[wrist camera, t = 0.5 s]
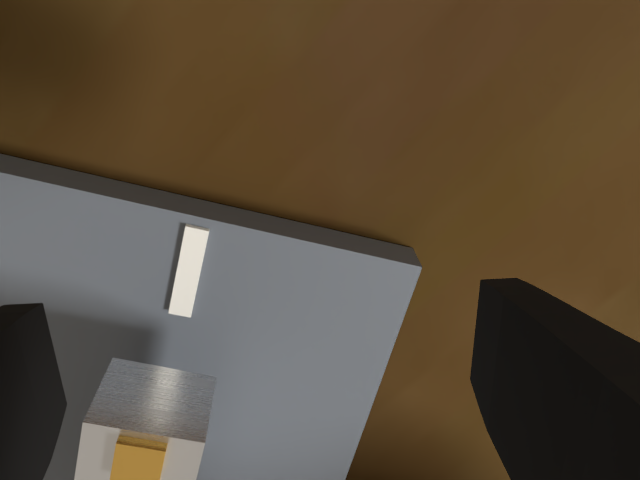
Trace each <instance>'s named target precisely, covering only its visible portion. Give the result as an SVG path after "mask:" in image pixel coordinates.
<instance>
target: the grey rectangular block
mask: <svg viewBox="0 0 640 480" xmlns="http://www.w3.org/2000/svg"><path fill="white" fill-rule="evenodd" d="M216 378H217V377H215V376H210V375H204V374H199V373H194V372H188V371H183V370H177V369H172V368H167V367H161V366H156V365H151V364H145V363H140V362H134V361H129V360H124V359H118V358H112V360H111V362H110V364H109V367H108V369H107V371H106V373H105V375H104V377H103V379H102V382H101V384H100V386H99V388H98V390H97V392H96V395H95V397H94V399H93V401H92V403H91V405H90V408H89V410H88V412H87V414H86V416H85V418H84V421H83V423H82V430H81V437H80V444H79V450H78V457H77V464H76V471H75V477H74V480H196V479H197V475H198V470H199V466H200V462H201V458H202V454H203V450H204V446H205V441H206V435H207V430H208V424H209V418H210V412H211V407H212V401H213V395H214V389H215V383H216Z"/></svg>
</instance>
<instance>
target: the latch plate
mask: <svg viewBox="0 0 640 480" xmlns="http://www.w3.org/2000/svg"><path fill="white" fill-rule="evenodd" d="M421 269H422V266H421V264H420V262H419V260H418V258H417V256H416V254H415V252H414V250H413V248H410V247H406V246H401V245H397V244H393V243H388V242H384V241H380V240H375V239H371V238H366V237H362V236H358V235H353V234H349V233H345V232H340V231H336V230H332V229H327V228H323V227H318V226H314V225H310V224H305V223H301V222H297V221H292V220H288V219H284V218H279V217H275V216H270V215H266V214H262V213H257V212H253V211H249V210H244V209H240V208H236V207H231V206H227V205H222V204H218V203H214V202H209V201H205V200H201V199H196V198H192V197H188V196H183V195H179V194H174V193H170V192H166V191H161V190H157V189H153V188H148V187H144V186H140V185H135V184H131V183H126V182H122V181H118V180H113V179H109V178H105V177H100V176H96V175H91V174H87V173H83V172H78V171H74V170H70V169H65V168H61V167H57V166H52V165H48V164H43V163H39V162H35V161H30V160H26V159H22V158H17V157H13V156H9V155H4V154H0V306H3V305H10V304H29V303H43V305H44V310H45V314H46V318H47V322H48V326H49V330H50V335H51V339H52V343H53V347H54V351H55V355H56V360H57V364H58V368H59V372H60V376H61V380H62V385H63V389H64V393H65V397H66V401H67V407H66V411H65V415H64V418H63V422H62V426H61V429H60V433H59V437H58V440H57V443H56V446H55V450H54V453H53V456H52V459H51V462H50V464H49V467H48V469H47V471H46V474H45V476H44V478H43V480H74V477H75V471H76V464H77V457H78V450H79V444H80V437H81V430H82V423H83V421H84V418H85V416H86V414H87V412H88V410H89V408H90V405H91V403H92V401H93V399H94V397H95V395H96V392H97V390H98V388H99V386H100V384H101V382H102V379H103V377H104V375H105V373H106V371H107V369H108V367H109V364H110V362H111V360H112V358H118V359H124V360H129V361H134V362H140V363H145V364H151V365H156V366H161V367H167V368H172V369H177V370H183V371H188V372H194V373H199V374H204V375H210V376H215V377H217V378H216V383H215V389H214V395H213V401H212V407H211V412H210V418H209V424H208V430H207V435H206V441H205V446H204V450H203V454H202V458H201V462H200V466H199V470H198V475H197V479H196V480H345V479H346V476H347V474H348V471H349V468H350V465H351V463H352V460H353V457H354V454H355V451H356V449H357V446H358V443H359V440H360V438H361V435H362V432H363V429H364V427H365V424H366V421H367V418H368V415H369V413H370V410H371V407H372V404H373V402H374V399H375V396H376V393H377V391H378V388H379V385H380V382H381V380H382V377H383V374H384V371H385V368H386V366H387V363H388V360H389V357H390V355H391V352H392V349H393V346H394V344H395V341H396V338H397V335H398V332H399V330H400V327H401V324H402V321H403V319H404V316H405V313H406V310H407V308H408V305H409V302H410V299H411V297H412V294H413V291H414V288H415V285H416V283H417V280H418V277H419V274H420V272H421Z"/></svg>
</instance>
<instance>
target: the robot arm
mask: <svg viewBox="0 0 640 480" xmlns="http://www.w3.org/2000/svg"><path fill="white" fill-rule="evenodd" d="M470 380H471V383H472V386H473V390H474V393H475V396H476V399H477V402H478V405H479V408H480V411H481V414H482V417H483V420H484V423H485V426H486V429H487V431H488V433H489V435H490V438H491V440H492V442H493V444H494V446H495V448H496V450H497V452H498V454H499V456H500V458H501V460H502V463H503V465H504V467H505V469H506V471H507V473H508V475H509V477H510V479H511V480H640V343H639V342H637V341H635V340H633V339H631V338H630V337H628V336H626V335H624V334H622V333H620V332H618V331H616V330H614V329H612V328H611V327H609V326H607V325H605V324H603V323H601V322H599V321H598V320H596V319H594V318H592V317H590V316H588V315H587V314H585V313H583V312H581V311H579V310H578V309H576V308H574V307H572V306H570V305H569V304H567V303H565V302H563V301H561V300H560V299H558V298H556V297H554V296H552V295H550V294H549V293H547V292H545V291H543V290H541V289H539V288H537V287H535V286H533V285H531V284H529V283H527V282H525V281H522V280H520V279H518V278H505V279H486V280H481V281H480V291H479V300H478V310H477V319H476V329H475V338H474V348H473V357H472V366H471V376H470ZM66 407H67V401H66V397H65V393H64V389H63V385H62V380H61V376H60V372H59V368H58V364H57V360H56V355H55V351H54V347H53V343H52V339H51V335H50V330H49V326H48V322H47V318H46V314H45V310H44V305H43V303H29V304H10V305H3V306H0V480H43V478H44V476H45V474H46V471H47V469H48V467H49V464H50V462H51V459H52V456H53V453H54V450H55V446H56V443H57V440H58V437H59V433H60V429H61V426H62V422H63V418H64V415H65V411H66Z"/></svg>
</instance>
